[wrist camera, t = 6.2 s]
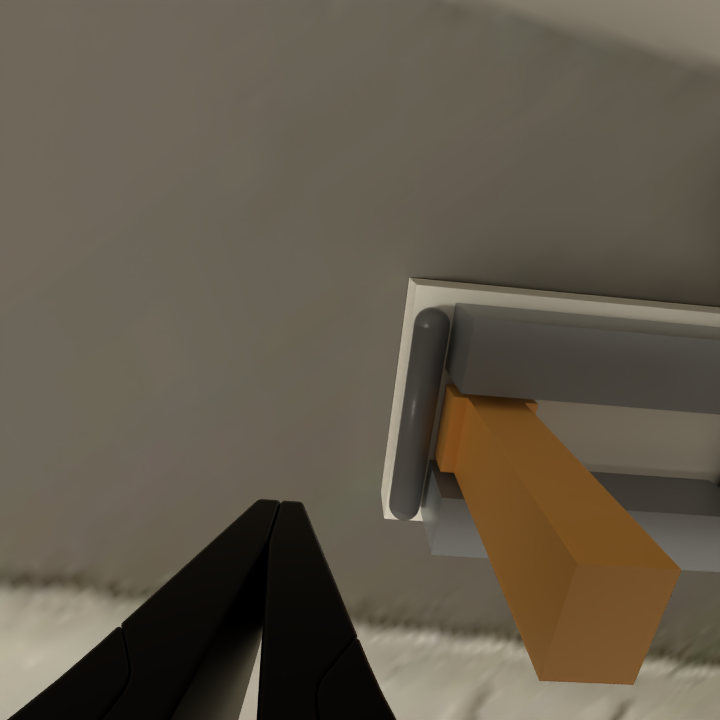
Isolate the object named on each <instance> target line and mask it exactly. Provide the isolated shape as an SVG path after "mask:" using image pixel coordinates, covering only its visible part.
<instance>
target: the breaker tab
mask: <svg viewBox="0 0 720 720" xmlns="http://www.w3.org/2000/svg"><path fill="white" fill-rule="evenodd" d="M537 407H538V403H537V402H536V401H535V400H534V399H522V398H510V397H497V396H485V395H473V394H461V392H460V391H459V389H458V388H457V386H456V385H455V384H446V388H445V394H444V400H443V406H442V411H441V417H440V423H439V429H438V434H437V440H436V446H435V452H434V455H435V458H436V461H437V463H438V466H439V469H440V472H451V473H454V474H455V477H456V479H457V482H458V484H459V486H460V489H461V491H462V494H463V496H464V499H465V501H466V503H467V506H468V508H469V511H470V513H471V516H472V518H473V520H474V523H475V525H476V528H477V530H478V533H479V535H480V537H481V540H482V542H483V545H484V547H485V550H486V552H487V554H488V557H489V559H490V562H491V564H492V567H493V569H494V571H495V574H496V576H497V579H498V581H499V584H500V586H501V589H502V591H503V593H504V596H505V598H506V601H507V603H508V606H509V608H510V610H511V613H512V615H513V618H514V620H515V623H516V625H517V627H518V630H519V632H520V635H521V637H522V640H523V642H524V644H525V647H526V649H527V652H528V654H529V657H530V659H531V661H532V664H533V666H534V669H535V671H536V674H537V676H538V678H539V681H559V682H582V683H604V684H627V685H634V682H635V680H636V678H637V675H638V673H639V670H640V668H641V666H642V663H643V661H644V658H645V656H646V654H647V651H648V649H649V647H650V644H651V642H652V639H653V637H654V635H655V632H656V630H657V627H658V625H659V623H660V620H661V618H662V615H663V613H664V611H665V608H666V606H667V604H668V601H669V599H670V596H671V594H672V592H673V589H674V587H675V584H676V582H677V580H678V577H679V575H680V573H681V569H680V568H679V566H678V565H677V564H676V563H675V562H674V561H673V560H672V559H671V558H670V557H669V556H668V555H667V554H666V553H665V552H664V551H663V550H662V548H661V547H660V546H659V545H658V544H657V543H656V542H655V541H654V540H653V539H652V538H651V537H650V536H649V535H648V534H647V533H646V531H645V530H644V529H643V528H642V527H641V526H640V525H639V524H638V523H637V522H636V521H635V520H634V519H633V518H632V517H631V516H630V514H629V513H628V512H627V511H626V510H625V509H624V508H623V507H622V506H621V505H620V504H619V503H618V502H617V501H616V500H615V499H614V497H613V496H612V495H611V494H610V493H609V492H608V491H607V490H606V489H605V488H604V487H603V486H602V485H601V484H600V483H599V482H598V480H597V479H596V478H595V477H594V476H593V475H592V474H591V473H590V472H589V471H588V470H587V469H586V468H585V467H584V466H583V465H582V464H581V462H580V461H579V460H578V459H577V458H576V457H575V456H574V455H573V454H572V453H571V452H570V451H569V450H568V449H567V448H566V447H565V445H564V444H563V443H562V442H561V441H560V440H559V439H558V438H557V437H556V436H555V435H554V434H553V433H552V432H551V431H550V430H549V428H548V427H547V426H546V425H545V424H544V423H543V422H542V421H541V420H540V419H539V418H538V417H537V416H536V411H537Z"/></svg>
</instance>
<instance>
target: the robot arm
mask: <svg viewBox="0 0 720 720" xmlns="http://www.w3.org/2000/svg"><path fill="white" fill-rule="evenodd" d="M261 638H262V644H261V660H260V676H259V692H258V708H257V720H396V718H395V716H394V714H393V712H392V710H391V708H390V707H389V705H388V703H387V701H386V699H385V697H384V695H383V693H382V691H381V689H380V687H379V684H378V682H377V680H376V678H375V676H374V673H373V671H372V669H371V667H370V665H369V662H368V660H367V658H366V655H365V653H364V650H363V648H362V645H361V643H360V641H359V640H358V639H357V634H356V631H355V629H354V627H353V624H352V622H351V619H350V617H349V614H348V612H347V610H346V607H345V605H344V602H343V600H342V597H341V595H340V592H339V590H338V588H337V585H336V583H335V580H334V578H333V575H332V573H331V571H330V568H329V566H328V563H327V561H326V558H325V556H324V553H323V551H322V549H321V546H320V544H319V541H318V539H317V536H316V534H315V532H314V529H313V527H312V524H311V522H310V519H309V517H308V515H307V512H306V510H305V507H304V505H303V503H302V502H296V501H283V502H281V503H280V502H279V501H278V500H266V499H260V500H257V501H256V502H255V503H254V504H253V505H252V506H251V507H250V508H248V509H247V510H246V511H245V512H244V513H243V514H242V515H241V516H240V517H239V518H237V519H236V520H235V521H234V522H233V523H232V524H231V525H230V526H229V527H227V528H226V529H225V530H224V531H223V532H222V533H221V534H220V535H219V536H218V537H216V538H215V539H214V540H213V541H212V542H211V543H210V544H209V545H208V546H207V547H205V548H204V549H203V550H202V551H201V552H200V553H199V554H198V555H197V556H195V557H194V558H193V559H192V560H191V561H190V562H189V563H188V564H187V565H186V566H184V567H183V568H182V569H181V570H180V571H179V572H178V573H177V574H176V575H174V576H173V577H172V578H171V579H170V580H169V581H168V582H167V583H166V584H165V585H163V586H162V587H161V588H160V589H159V590H158V591H157V592H156V593H155V594H154V595H152V596H151V597H150V598H149V599H148V600H147V601H146V602H145V603H144V604H142V605H141V606H140V607H139V608H138V609H137V610H136V611H135V612H134V613H133V614H131V615H130V616H129V617H128V618H127V619H126V620H125V621H124V622H123V623H122V625H121V627H117V628H116V629H115V630H113V631H112V632H111V633H110V634H109V635H108V636H107V637H106V638H105V639H104V640H102V641H101V642H100V643H99V644H98V645H97V646H96V647H95V648H93V649H92V650H91V651H90V652H89V653H88V654H87V655H85V656H84V657H83V658H82V659H81V660H80V661H78V662H77V663H76V664H75V665H74V666H73V667H72V668H70V669H69V670H68V671H67V672H66V673H65V674H63V675H62V676H61V677H60V678H59V679H57V680H56V681H55V682H54V683H53V684H51V685H50V686H49V687H48V688H46V689H45V690H44V691H43V692H41V693H40V694H39V695H38V696H36V697H35V698H34V699H33V700H31V701H30V702H29V703H28V704H26V705H25V706H24V707H23V708H21V709H20V710H19V711H18V712H16V713H15V714H14V715H13V716H11V717H10V718H9V719H7V720H238V719H239V715H240V712H241V708H242V705H243V701H244V698H245V694H246V691H247V687H248V684H249V680H250V677H251V673H252V670H253V666H254V663H255V659H256V656H257V652H258V649H259V645H260V642H261Z"/></svg>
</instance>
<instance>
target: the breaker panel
mask: <svg viewBox="0 0 720 720" xmlns="http://www.w3.org/2000/svg"><path fill="white" fill-rule="evenodd" d="M446 384H455V385H456V386H457V388H458V389H459V391H460V392H461V394H473V395H485V396H497V397H510V398H522V399H534V400H535V401H536V402H537V403H538V407H537V411H536V416H537V417H538V418H539V419H540V420H541V421H542V422H543V423H544V424H545V425H546V426H547V427H548V428H549V430H550V431H551V432H552V433H553V434H554V435H555V436H556V437H557V438H558V439H559V440H560V441H561V442H562V443H563V444H564V445H565V447H566V448H567V449H568V450H569V451H570V452H571V453H572V454H573V455H574V456H575V457H576V458H577V459H578V460H579V461H580V462H581V464H582V465H583V466H584V467H585V468H586V469H587V470H588V471H589V472H590V473H591V474H592V475H593V476H594V477H595V478H596V479H597V480H598V482H599V483H600V484H601V485H602V486H603V487H604V488H605V489H606V490H607V491H608V492H609V493H610V494H611V495H612V496H613V497H614V499H615V500H616V501H617V502H618V503H619V504H620V505H621V506H622V507H623V508H624V509H625V510H626V511H627V512H628V513H629V514H630V516H631V517H632V518H633V519H634V520H635V521H636V522H637V523H638V524H639V525H640V526H641V527H642V528H643V529H644V530H645V531H646V533H647V534H648V535H649V536H650V537H651V538H652V539H653V540H654V541H655V542H656V543H657V544H658V545H659V546H660V547H661V548H662V550H663V551H664V552H665V553H666V554H667V555H668V556H669V557H670V558H671V559H672V560H673V561H674V562H675V563H676V564H677V565H678V566H679V568H680V569H681V570H693V571H710V572H720V307H710V306H700V305H689V304H679V303H669V302H658V301H648V300H637V299H627V298H616V297H606V296H596V295H585V294H575V293H564V292H554V291H543V290H533V289H523V288H512V287H502V286H491V285H481V284H471V283H460V282H450V281H439V280H429V279H418V278H409V285H408V293H407V300H406V308H405V315H404V323H403V331H402V338H401V346H400V353H399V361H398V368H397V376H396V383H395V391H394V398H393V406H392V413H391V421H390V428H389V436H388V443H387V451H386V458H385V466H384V473H383V481H382V489H381V496H382V504H383V512H384V518H385V519H399V520H404V521H406V520H416V521H423V523H424V527H425V531H426V535H427V540H428V544H429V548H430V552H431V555H443V556H460V557H477V558H489V557H488V554H487V552H486V550H485V547H484V545H483V542H482V540H481V537H480V535H479V533H478V530H477V528H476V525H475V523H474V520H473V518H472V516H471V513H470V511H469V508H468V506H467V503H466V501H465V499H464V496H463V494H462V491H461V489H460V486H459V484H458V482H457V479H456V477H455V474H454V473H451V472H440V469H439V466H438V463H437V461H436V458H435V455H434V452H435V446H436V440H437V434H438V429H439V423H440V417H441V411H442V406H443V400H444V394H445V388H446Z"/></svg>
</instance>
